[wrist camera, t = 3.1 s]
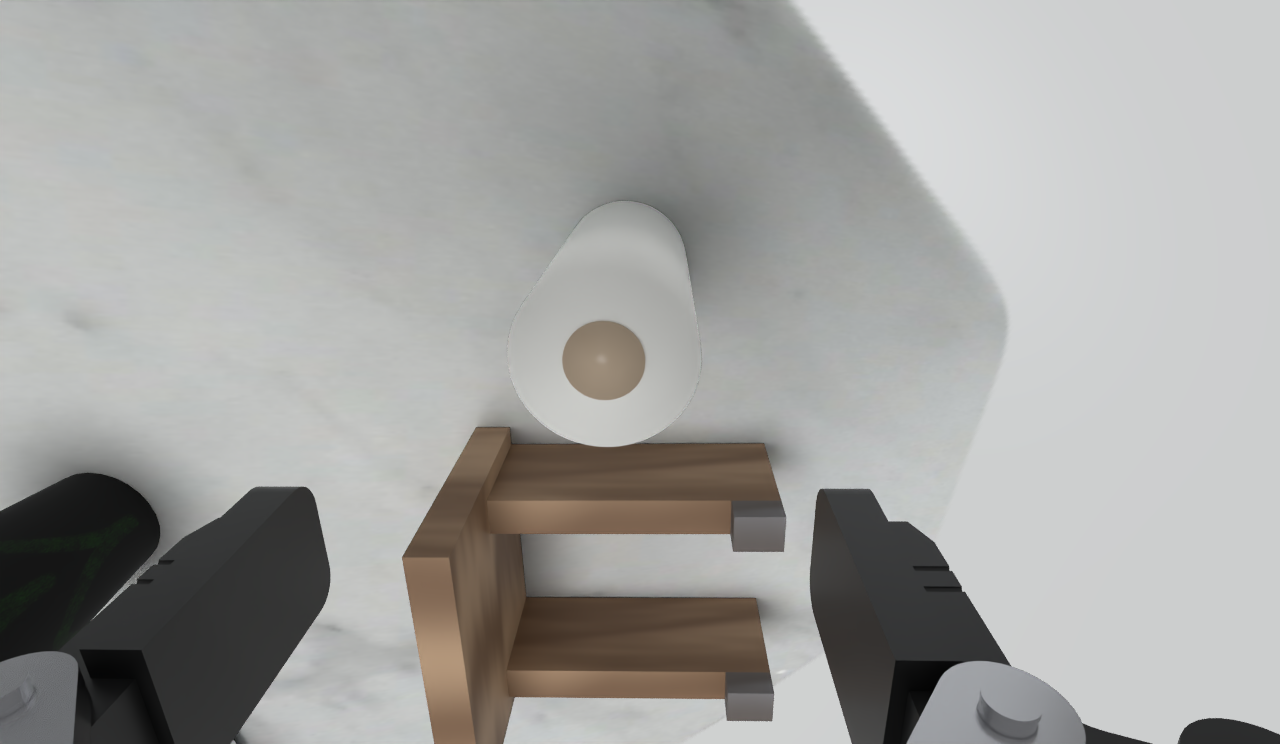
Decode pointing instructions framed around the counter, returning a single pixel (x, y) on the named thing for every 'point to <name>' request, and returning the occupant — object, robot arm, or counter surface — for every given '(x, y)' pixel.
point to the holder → (584, 627)
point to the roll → (609, 331)
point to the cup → (68, 558)
